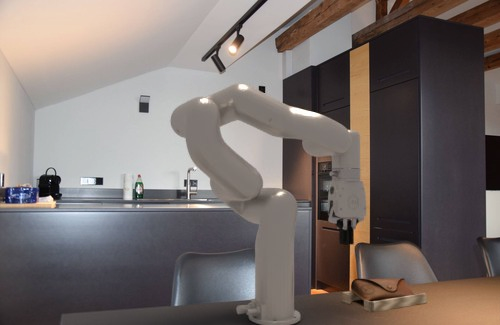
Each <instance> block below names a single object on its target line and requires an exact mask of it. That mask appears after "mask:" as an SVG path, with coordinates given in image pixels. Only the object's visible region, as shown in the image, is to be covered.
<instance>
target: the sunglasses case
mask: <svg viewBox="0 0 500 325" xmlns="http://www.w3.org/2000/svg"><path fill="white" fill-rule="evenodd" d="M350 289H351V290H350V291H352V292H353V293H354V294H355V295H357V296H358V297H359V298H361V299H362V300H361V301H364V300H368V301H371V302H373V301H379V300H385V299H391V298H397V297H404V296H410V295H415V293H414V292H413V291H412V289H411V287H409V285H408V283H407V282H406V281H405V278H403V277H401V278H362V277H361V278H358V277H357V278H354V279H353V280H352V282H351V285H350Z"/></svg>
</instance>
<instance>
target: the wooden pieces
mask: <svg viewBox="0 0 500 325" xmlns="http://www.w3.org/2000/svg"><path fill="white" fill-rule="evenodd" d="M341 293H342V295H341V296H342V297H341V298H342V301H341V302H342V303H346V304H348V305H351V304H352V302H353V301H355V302H356V301H363V311H366V312H370V313H377V312H381V311H382V312H383V311H388V310H394V309H399V308H400V309H401V308H404V307H410V306H416V305H421V304H422V305H424V304H427V293H425V292H423V293H418V294H414V295H410V296H404V297H397V298H391V299H385V300H379V301H368V300H362V299H361V298H359V297H358V296H357V295H355V294H354V293H353V292H352V290H350V291H344V292H341Z"/></svg>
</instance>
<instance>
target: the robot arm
mask: <svg viewBox="0 0 500 325" xmlns="http://www.w3.org/2000/svg"><path fill="white" fill-rule="evenodd" d="M169 121H170V127H171V129H172V130H173V132H174V133H175V134H176V135H177V136H179V137H180V138H184V139H185V142H186V143H185V144H186V149H187V152H188V153H187V154H189V155H188V156H189V157H190V160H192V161H191V162H192V163H193V164H194V165H195V166H196V167H197V168H198V169H199V170H200V171H201V172H202V173H203V174H205V175H206V176H207V177H208V178H209V184H210V190H211V191H212V193H213V194H214V196H215V197H216V198H217V199H218V200H220V202H222V203H223V204H225V205H226V206H227V207H229V208H230V209H231V210H232V211H233V212H234V213H236V214H237V215H239V216H240V217H241V218H243V219H244V220H245V221H247V222H249V223H252V224H255V225H258V229H257V233H256V237H255V242H254V243H255V244H254V256H255V258H254V259H255V260H254V265H255V266H254V269H255V270H254V279H255V280H254V298H251V299H250V302H248V303H247V304H241V305H237V306H236V314H238V315H243V314H246V315H247V316H248V319H249V321H251V322H253V324H258V325H294V324H297V323H298V322H300V321H301V318H302V317H301V313H300V312H299V311H298V310H296V309H295V235H296V234H295V233H296V232H295V231H296V226H297V220H298V214H299V206H298V202H297V200H296V198H295V197H294V194H292V193H291V192H290V191H288V190H286V189H283V188H279V187H264V181H263V177H262V175H261V173H260V172H259V170H257V168H256V167H255V166H253V165H252V164H251V163H249V161H247V160H246V159H245V158H243V157H242V156H241V155H240V154H239V153H237V152H236V151H234V149H233V148H232V147H230V145H229V144H227V143H226V141H225V140H224V138H223V135H222V133H221V127H222V126H226V125H228V124H230V123H232V122H235V121H240V122H241V123H244V124H246V125H249V126H251V127H253V128H255V129H257V130H259V131H262V132H263V133H266V134H267V135H270V136H272V137H274V138H275V137H276V138H281V139H292V140H293V139H294V140H301V141H302V142H301V143H302V144H301V145H302V148H303V150H304V151H305V152H306V154H307V155H309V156H312V157H315V158H317V157H318V158H321V157H330V156H331V171H330V172H329V173H328V174H329V175H328V176H330V177H331V180H330V181H329V182H330V183H329V187H328V193H327V194H328V195H327V215H328V218H327V220H328V222H329V223H333V224H334V225H335V226H336V227H337V229H338V232H339V233H338V235H339V236H338V237H339V239H338V240H339V244H340V245H344V246H348V245H351V246H352V245H354V244H355V243H354V242H355V238H354V237H355V236H354V234H355V232H354V230H356V228H357V225H358V224H359V223H361V222H363V221H364V219H365V217H366V216H367V198H366V197H367V196H366V189H365V184H364V181H363V180H361V135H360V132H359V131H357V130H354V129H348V128H346V126H344V125H343V124H342V123H339V122H338V121H336V120H334V119H332V118H330V117H328V116H326V115H323V114H321V113H318V112H314V111H310V110H307V109H302V108H300V107H296V106H291V105H288V104H286V103H283V102H281V101H280V100H277V99H276V98H275V97H272V96H270V95H269V94H267V93H264V92H263V91H261V90H258V89H257V88H255V87H253V86H251V85H248V84H246V83H242V82H241V83H240V82H237V83H235V84H231V85H229V86H227V87H224V88H223V89H221V90H218V91H216V92H213V93H212V94H209V95H207V96H197V97H194V98H191V99H188V100H187V101H185V102H184V103H181V104H180V105H178V106H177V107H176V108H174V110H173V111H172V113H171V116H170V120H169Z"/></svg>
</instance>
